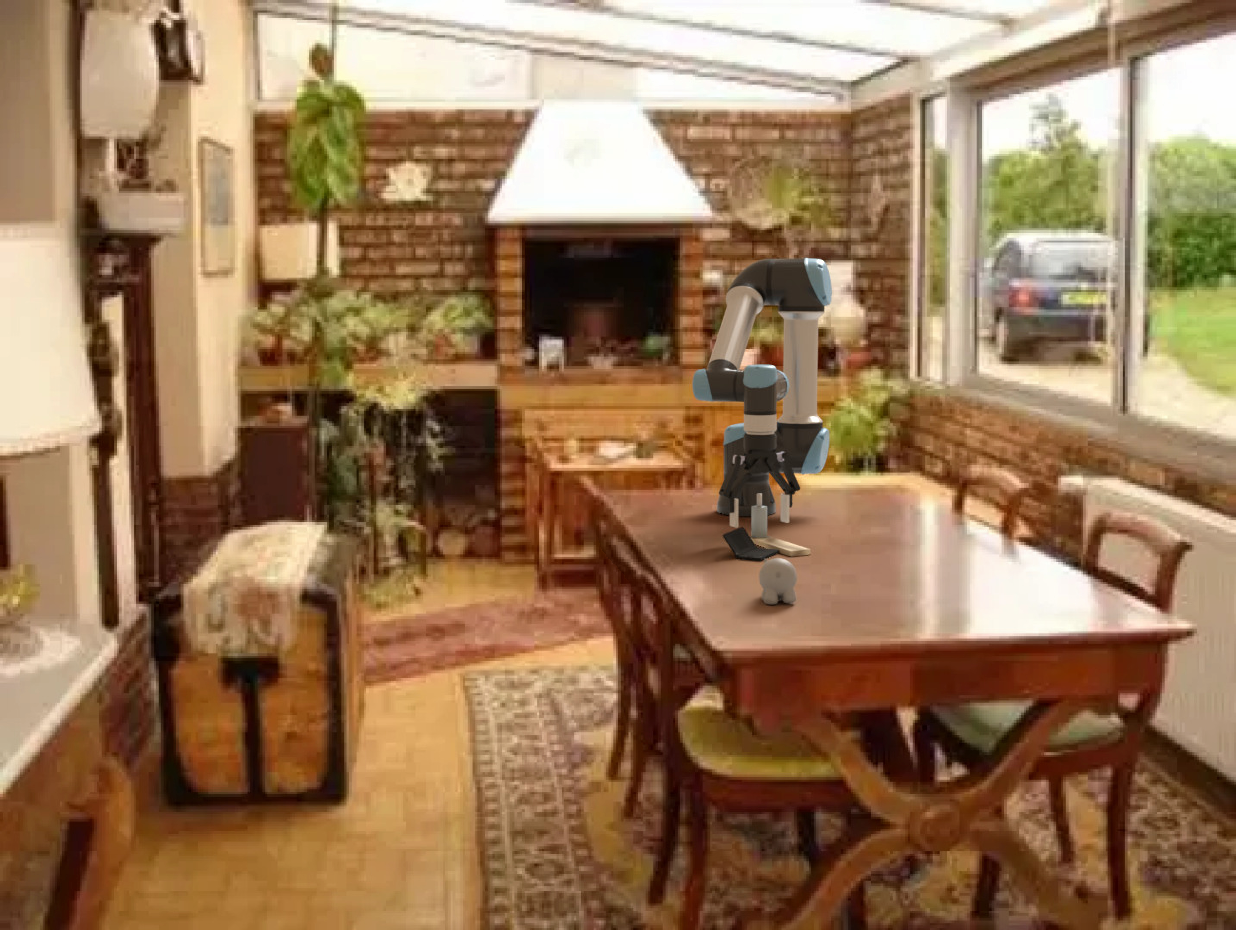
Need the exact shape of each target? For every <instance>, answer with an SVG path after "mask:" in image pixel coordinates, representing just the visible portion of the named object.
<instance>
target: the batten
mask: <svg viewBox="0 0 1236 930" xmlns="http://www.w3.org/2000/svg"><path fill="white" fill-rule="evenodd" d="M749 536H750V538H751V539H752V541H753V542H754V544H757V545H759V546H758V547H760V546H761V547H760V548H763V547H764V548H767V549H777V550H779V553H778V554H782V555H785V556H788V557H790V558H791V557H799V556H810V555H811V549H810V548H808V547H805V546H801V545H798V544H795V543H793V542H792V543H791V542H789V541H786V540H783V539H781V538H780V539H779V538H776V537H773V536H771V535H767V537H766V538H753V537H751V535H749ZM757 545H756V546H757Z"/></svg>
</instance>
